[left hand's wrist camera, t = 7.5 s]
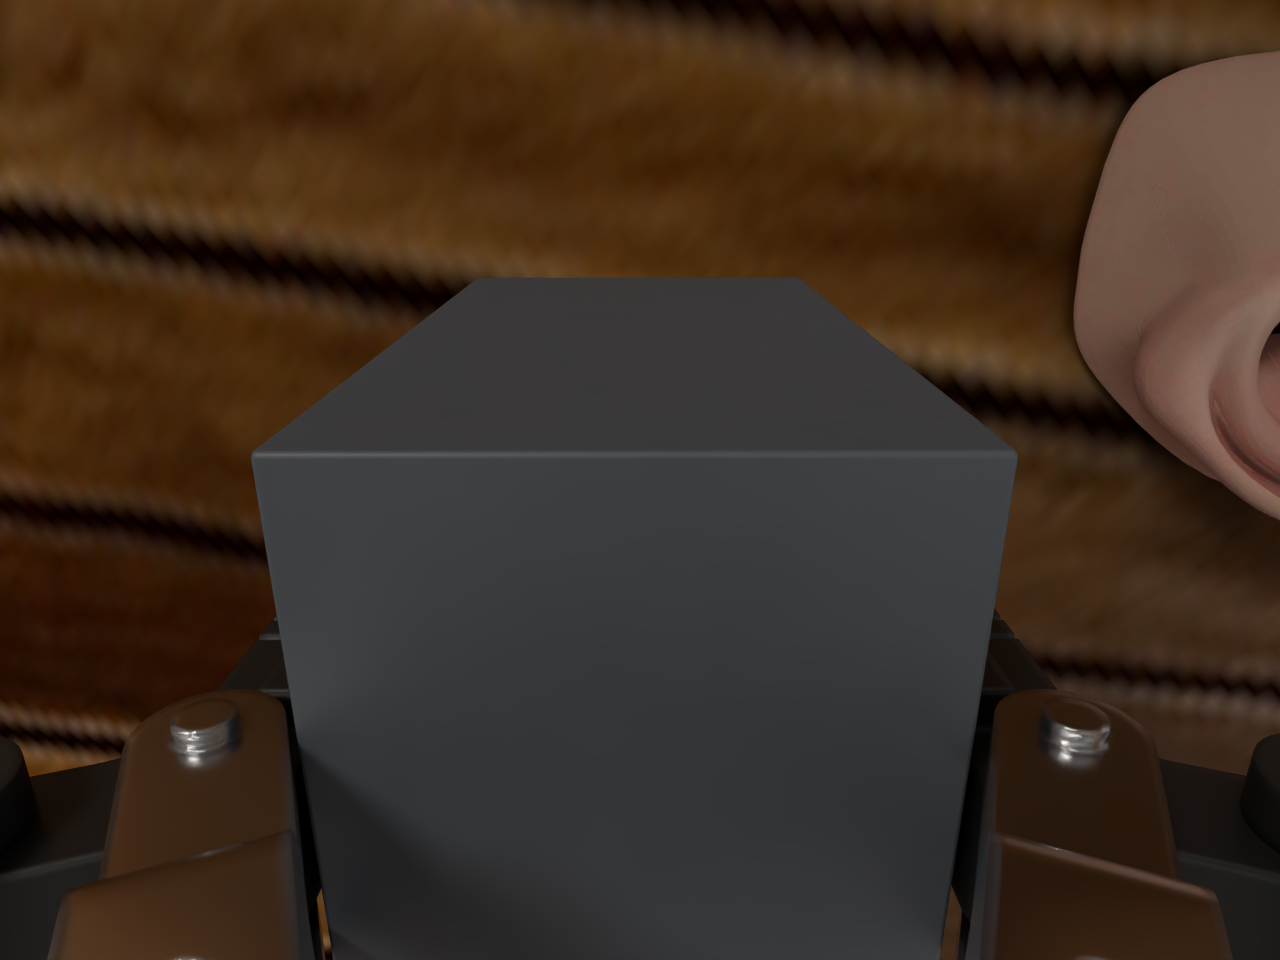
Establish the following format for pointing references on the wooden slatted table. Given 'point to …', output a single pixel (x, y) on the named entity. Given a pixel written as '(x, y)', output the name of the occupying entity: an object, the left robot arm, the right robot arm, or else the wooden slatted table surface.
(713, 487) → the bar
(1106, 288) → the anatomical model
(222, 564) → the wooden slatted table surface
